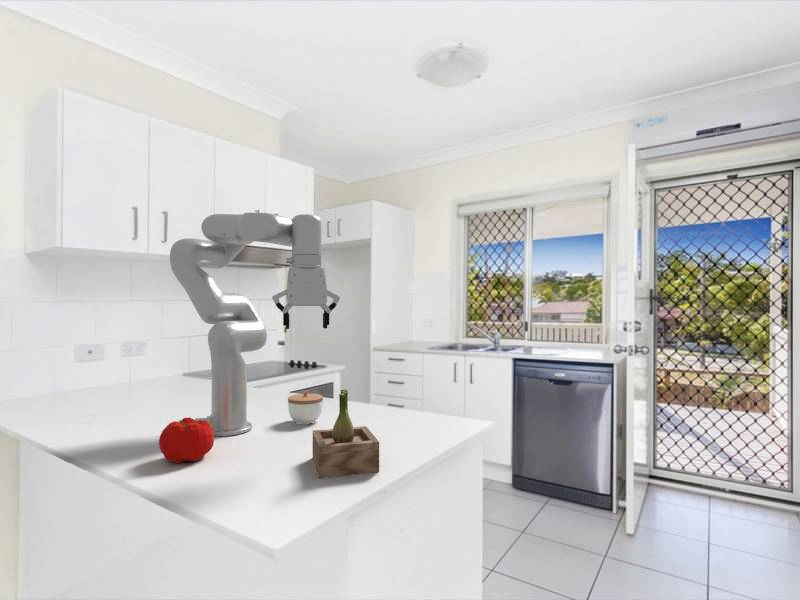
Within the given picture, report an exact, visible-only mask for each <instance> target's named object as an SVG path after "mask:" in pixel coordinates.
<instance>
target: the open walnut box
mask: <svg viewBox="0 0 800 600" xmlns="http://www.w3.org/2000/svg"><path fill="white" fill-rule="evenodd" d="M353 429H354V439H353V441H352V442H349V443H336V442H335V441H334V440H333V437H332V431H333V428H329V429H327V428H326V429H317V430H312V460H313V461H312V462H313V463H315V464H314V466H316V467H315V469H317V470H316V473H317V472H318V473H317V475H319V476H318V478H319V479H325V478H324V477H328V478H334V477H333V476H336V477H343V476H342V475H345V476H353V475H352V474H354V475H362V474H368V473H369V474H370V473H377V472H380V440H378V439H377V437H376V436H375V435H374V434H373V433H372V432H371V431H370V429H369V428H368V426H366V425H364V426H356V427H355V426H353Z"/></svg>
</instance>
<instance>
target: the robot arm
mask: <svg viewBox="0 0 800 600" xmlns="http://www.w3.org/2000/svg"><path fill="white" fill-rule="evenodd" d="M200 227H201V232H202V233H203V236H204V237H205V238H206V239H207V240H205V239H200V238H199V239H198V238H182V239H178V240H177V241H175V242H174V243H173V244H172V245H171V248H170V250H169V251H170V252H169V264H170V268H171V271H172V273H173V275H174V276H175V279H177V280H178V282H179V284H180V285H181V286H182V288H183V289H184V291H185V292H186V294H187V296H188V298H189V300H190V301H191V303H192V305H193V307H194V308H195V310H196V312H197V314H198V316H199V317H200V319H201V320H202V321H203V322H204V323H205V324H209V325H212V326H211V328H210V329H209V330H208V333H207V344H208V348H209V354H210V355H209V356H210V360H211V361H210V362H211V363H210V364H211V367H210V368H211V412H210V413H211V414H210V415H209V416H206V417H195V418H194V420H196V422H197V420H198V421H199V420H204V421H207V422H208V423H209V424H210V425H211V428H212V430H213V436H215V437H226V436H227V437H228V436H235V435H236V436H237V435H241V434H244V433H248V432H249V431H251V430H252V429H253V423H252V422H250V421H248V420H247V416H248V415H247V403H248V402H247V397H248V396H247V395H248V394H247V391H248V389H247V382H248V379H247V378H248V377H247V373H248V372H247V371H248V370H247V365H246V362H245V360H244V359H243V356H242V353H247V352H254V351H258V350H260V349H262V348H263V347H264V346H265V345H266V343H267V339H268V336H267V331H266V327H265V325H264V323H263V322H262V320H261V318H260V316H259V315H258V313H257V311H256V310H255V308H254V307H253V305H252V303H251V301H250V300H249V299H248V298H247V297H246V296H244V295H243V294H240V293H235V292H223V291H222V290H221V289H220V288H219V286H218V285H217V283H216V282H215V279H214V278H213V277H212V276H211V275H210V274H209V273H207V272H206V271H205V270H203V269H204V268H205V269H214V270H215V269H218V270H219V269H223V268H225V267H227V266H228V265H229V264H230V263H232V261H233V260H234V259H235V258H236V257H237V256H238V255H239V253H240V252H241V251H242V250H243V249H245V247H246V246H247V245H250V244H253V243H254V242H258V243H259V242H260V243H265V244H266V243H267V244H272V245H273V244H274V245H278V246H285V247H291V256H290V257H286V258H285V263H286V264H289V265H291V267H288V273H287V281H286V289H285V290H282V291H281V292H278V293H276V294H274V295H273V296H271V297H272V298H271V299H272V301H273V302H274V305H275V306H276V308H277V309H278V310H279V311H280V312H282V313H283V314H282V315H283V316H282V318H283V319H282V321H283V322H282V326H283V327H285V329H286V330H289V329H290V313H289V310H291V308H292V307H320V308H321V309H322V310H323V313H322V328H323V329H328V326H329V325H330V313H331V312H332V311H333V310H334V309H335V308H336V307H337V305H338V303H339V301H340V299H341V297H340V296H339V295H337V294H336V293H333V292H332V291H330V290H328V288H327V287H328V286H327V275H326V271H325V268H324V267H322V219H321V218H320V217H319V216H317V215H314V214H306V213H305V214H304V213H303V214H297V215H295V216H293V217H292V218H290V217H285V216H282V215H278V214H273V213H268V212H243V214H240V213H239V214H233V213H215V214H210V215H207V216H206V217H205V218H204V219H203V221H202V222H201V226H200ZM285 296H286V299H285V300H286V303H287V304H286V305H283V304H281V301H280V299H281V298H283V297H285ZM328 297H329V298H331V299H332V302H331V303H330V304H329V305H327V303H328Z"/></svg>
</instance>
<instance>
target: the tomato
mask: <svg viewBox="0 0 800 600" xmlns="http://www.w3.org/2000/svg"><path fill="white" fill-rule="evenodd" d="M159 435H160V436H159V439H158V447H159V450H160V452H161V454H162V455H163V457H164V458H165V459H166V460H167V461H169V462H172V463H175V464H176V463H177V464H182V463H183V462H186V461H187V462H195V461H198V460H199V459H201V458H203V457H204V456H206V455H207V454H208V453H209V452H210V451H211V450H212V448H213V447H214V443H215V437H214V436H213V430H212V428H211V425H210V424H209V423H208V422H207V421H204V420H199V421H198V420H197V422H196V420H195V418H192V417H191V416H190V417H184V418H182V419H181V420H179V419H178V420H177V421H172V422H169V423H168V424H167V425H166V426H165V428H163V430H162V431H161V433H160V434H159Z"/></svg>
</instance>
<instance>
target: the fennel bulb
mask: <svg viewBox="0 0 800 600" xmlns="http://www.w3.org/2000/svg"><path fill="white" fill-rule="evenodd" d="M338 395H339V396H338V398H339V406H338V407H339V410H338V411H339V413H338V416H337V418H336V420H335V423H334V425H333V428H332V429H333V431H332V437H333V440H334V441H335V442H336V443H349V442H352V441H353V439H354V429H353V427H354V425H353V422H352V419H351V418H350V415H349V409H348V406H349V405H348V400H349V396H348V395H349V390H348V389H340V393H339V394H338Z"/></svg>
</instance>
